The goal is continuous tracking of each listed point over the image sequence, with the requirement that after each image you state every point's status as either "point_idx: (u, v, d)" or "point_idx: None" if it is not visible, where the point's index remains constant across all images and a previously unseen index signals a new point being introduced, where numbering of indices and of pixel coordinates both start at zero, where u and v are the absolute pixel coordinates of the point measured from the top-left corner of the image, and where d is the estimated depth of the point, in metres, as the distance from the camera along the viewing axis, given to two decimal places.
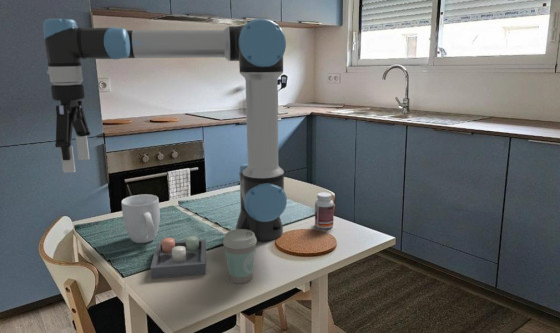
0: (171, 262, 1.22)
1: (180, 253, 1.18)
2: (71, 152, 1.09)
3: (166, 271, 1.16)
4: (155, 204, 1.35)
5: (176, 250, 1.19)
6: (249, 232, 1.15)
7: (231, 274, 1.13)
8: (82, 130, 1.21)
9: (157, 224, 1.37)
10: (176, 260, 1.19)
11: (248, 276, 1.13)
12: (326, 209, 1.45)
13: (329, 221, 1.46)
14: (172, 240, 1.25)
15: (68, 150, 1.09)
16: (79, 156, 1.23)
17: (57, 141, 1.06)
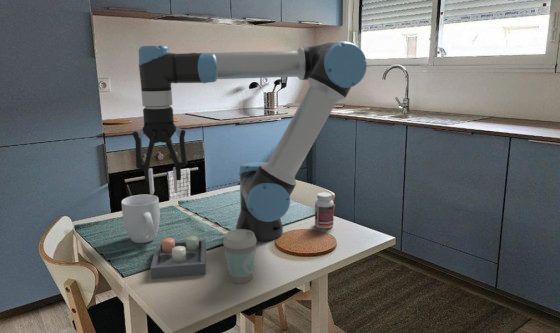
0: (171, 262, 1.22)
1: (180, 253, 1.18)
2: (148, 176, 1.19)
3: (166, 271, 1.16)
4: (155, 204, 1.35)
5: (176, 250, 1.19)
6: (249, 232, 1.15)
7: (231, 274, 1.13)
8: (173, 160, 1.19)
9: (157, 224, 1.37)
10: (176, 260, 1.19)
11: (248, 276, 1.13)
12: (326, 209, 1.45)
13: (329, 221, 1.46)
14: (172, 240, 1.25)
15: (146, 173, 1.19)
16: None
17: None
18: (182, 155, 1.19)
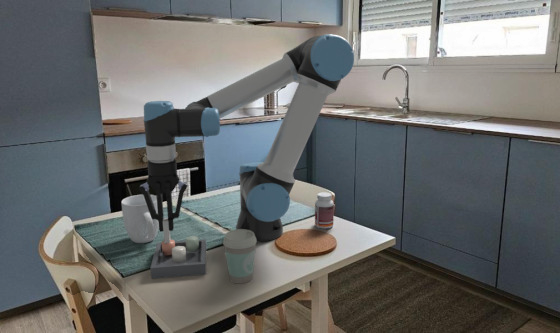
0: (171, 262, 1.22)
1: (180, 253, 1.18)
2: (163, 226, 1.23)
3: (166, 271, 1.16)
4: (155, 204, 1.35)
5: (176, 250, 1.19)
6: (249, 232, 1.15)
7: (231, 274, 1.13)
8: None
9: (157, 224, 1.37)
10: (176, 260, 1.19)
11: (248, 276, 1.13)
12: (326, 209, 1.45)
13: (329, 221, 1.46)
14: (172, 242, 1.25)
15: (160, 223, 1.23)
16: None
17: None
18: (177, 207, 1.22)
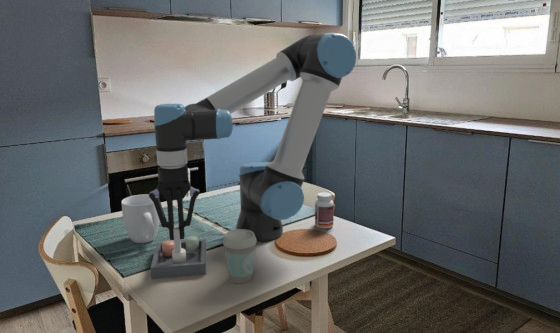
0: (171, 262, 1.22)
1: (180, 255, 1.18)
2: (174, 234, 1.17)
3: (166, 271, 1.16)
4: None
5: None
6: (249, 232, 1.15)
7: (231, 274, 1.13)
8: None
9: (157, 224, 1.37)
10: (176, 262, 1.19)
11: (248, 276, 1.13)
12: (326, 209, 1.45)
13: (329, 221, 1.46)
14: (172, 243, 1.25)
15: (171, 231, 1.17)
16: None
17: None
18: (188, 215, 1.17)
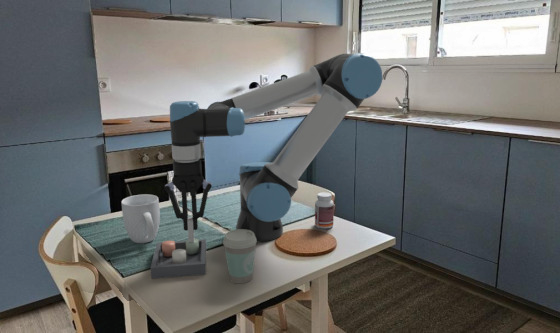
0: (171, 262, 1.22)
1: (180, 256, 1.18)
2: (187, 225, 1.24)
3: (166, 271, 1.16)
4: (155, 204, 1.35)
5: (176, 253, 1.19)
6: (249, 232, 1.15)
7: (231, 274, 1.13)
8: (192, 210, 1.23)
9: (157, 224, 1.37)
10: (176, 263, 1.19)
11: (248, 276, 1.13)
12: (326, 209, 1.45)
13: (329, 221, 1.46)
14: (172, 243, 1.25)
15: (185, 222, 1.24)
16: None
17: None
18: (202, 206, 1.23)
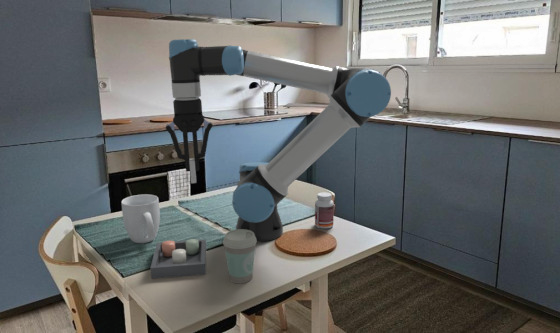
0: (171, 262, 1.22)
1: (180, 256, 1.18)
2: (189, 165, 1.24)
3: (166, 271, 1.16)
4: (155, 204, 1.35)
5: (176, 253, 1.19)
6: (249, 232, 1.15)
7: (231, 274, 1.13)
8: None
9: (157, 224, 1.37)
10: (176, 263, 1.19)
11: (248, 276, 1.13)
12: (326, 209, 1.45)
13: (329, 221, 1.46)
14: (172, 243, 1.25)
15: (187, 163, 1.25)
16: None
17: None
18: (203, 146, 1.24)
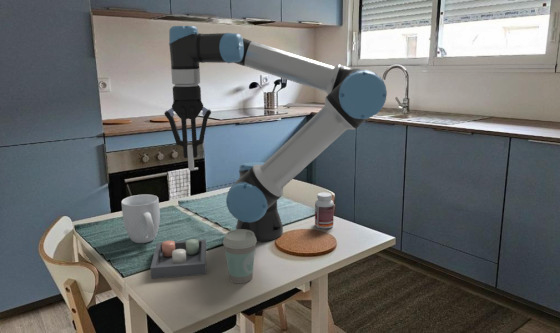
0: (171, 262, 1.22)
1: (180, 256, 1.18)
2: (187, 152, 1.25)
3: (166, 271, 1.16)
4: (155, 204, 1.35)
5: (176, 253, 1.19)
6: (249, 232, 1.15)
7: (231, 274, 1.13)
8: None
9: (157, 224, 1.37)
10: (176, 263, 1.19)
11: (248, 276, 1.13)
12: (326, 209, 1.45)
13: (329, 221, 1.46)
14: (172, 243, 1.25)
15: (185, 149, 1.25)
16: None
17: None
18: (201, 133, 1.25)
